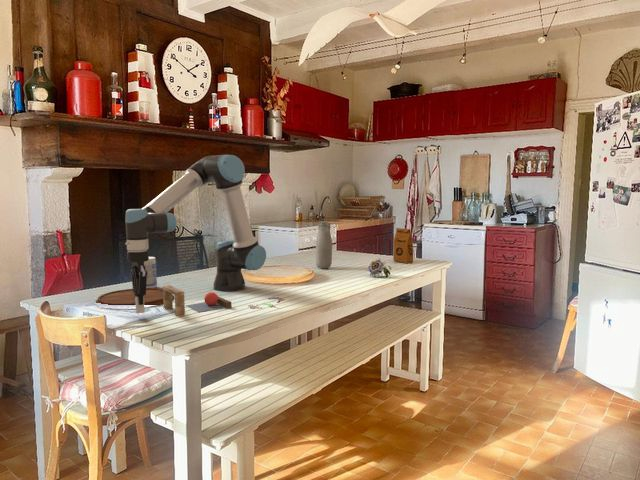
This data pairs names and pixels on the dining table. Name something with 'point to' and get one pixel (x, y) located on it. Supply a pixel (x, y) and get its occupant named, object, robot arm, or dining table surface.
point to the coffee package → (403, 246)
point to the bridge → (178, 299)
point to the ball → (211, 299)
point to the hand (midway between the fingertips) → (140, 312)
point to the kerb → (224, 303)
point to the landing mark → (204, 307)
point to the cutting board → (132, 297)
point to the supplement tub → (151, 272)
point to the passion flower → (378, 268)
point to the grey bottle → (324, 246)
